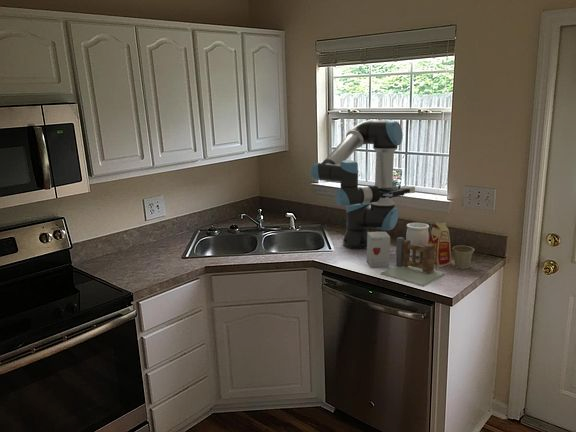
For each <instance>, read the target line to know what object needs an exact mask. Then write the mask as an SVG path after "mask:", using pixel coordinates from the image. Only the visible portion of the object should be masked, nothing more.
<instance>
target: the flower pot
mask: <svg viewBox="0 0 576 432" xmlns="http://www.w3.org/2000/svg"><path fill="white" fill-rule="evenodd" d="M451 248H452V250H453V251H452V252H453V258H454V267H455V268H457V269H463V270H467V269H469V268H470V266H471V261H472V256H473V254H474V252H475V248H474V247H472V246H467V245H456V246H453V247H451Z"/></svg>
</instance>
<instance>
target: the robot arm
mask: <svg viewBox="0 0 576 432" xmlns="http://www.w3.org/2000/svg"><path fill="white" fill-rule="evenodd" d="M403 136H404V135H403V128H402V126H401V124H400V123H399V122H398V121H397V120H391V119H388V120H381V119H379V120H378V119H376V120H375V119H370V120H369V119H368V120H364V121H362V122H360V123H357V124H356V125H355V126H353V127H352V128H351V129H349V130H348V131H347V133H346V135H345V138H344V139H342V141H341V142H340V143H339V144H338V145H337V146H336V147H335V148H334V149H333V150H332V151H331V152H330V154H328V156H326V158H325V159H324V160H323V161H322V162H321V163H320V162H318V163H317V162H316V163H313V164H312V165H311V168H310V176H311V178H312V179H313V180H317V181H324V182H325V181H327V182H336V183H340V188H338V189H336V190H335V193H334V199H335V202H336V204H337V205H338V206H342V207H343V206H345V207H346V212H345V214H346V217H345V218H346V221H345V222H346V231H345V234H344V237H343V241H342V245H343V246H344V247H346V248H348V249H353V250H354V249H355V250H361V249H363V250H364V249H367V232H370V229H377V230H382V231H391V230H393V229H394V228H395V227H396V225H397V223H398V220H399V214H400V212H399V208H397V207H396V206H395V205H396V203H395V201H393V198H395V197H396V198H397V197H401V196H402V197H403V196H405V195H407V194H413V193H416V187H415V186H414V185H413V186H405V187H404V186H403V187H401V186H400V185H398V186H394V187H393V180H394V179H393V177H394V160H395V159H394V157H395V151H397V150H398V146H400V145H401V144H402V140H403ZM363 145H372V147H373V148H372V149H373V150H374V152H375V168H374V169H375V174H374V178H375V179H374V185H365V186H364V185H363V186H359V167H358V162H357V161H356V160H348V159H349V157H351V155H352V154H353V153H354V152H355V151H356V150H357V149H359V148H361V147H362V146H363Z"/></svg>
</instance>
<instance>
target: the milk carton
mask: <svg viewBox="0 0 576 432" xmlns="http://www.w3.org/2000/svg"><path fill="white" fill-rule="evenodd" d="M449 230H450V229H449V228H448V226H447V222H437V221H436V222H435V225H433V226H432V229H431V231H430V234H429V239H428V244H433V245H435V258H434V267H437V268H441V267H444V266H448V265H451V263H452V251H451V248H452V246H451V238H450V237H451V236H450V231H449Z"/></svg>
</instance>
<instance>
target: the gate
mask: <svg viewBox="0 0 576 432" xmlns="http://www.w3.org/2000/svg"><path fill="white" fill-rule="evenodd" d="M410 249H411V250H413V252H412V256H411V257H410ZM416 251H420V257H419V261H417V260H416V259H417V257H416ZM434 254H435V245H433V244H428V243H427V244H425V245H424V246H422V245H417V244H412V243H410V240H406V239H404V241H403V266H404V267H408V266H412V267H417V268H421V269H423V272H427V273H431V272H433V271H434V270H435V266H434ZM411 258H412V259H411Z"/></svg>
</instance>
